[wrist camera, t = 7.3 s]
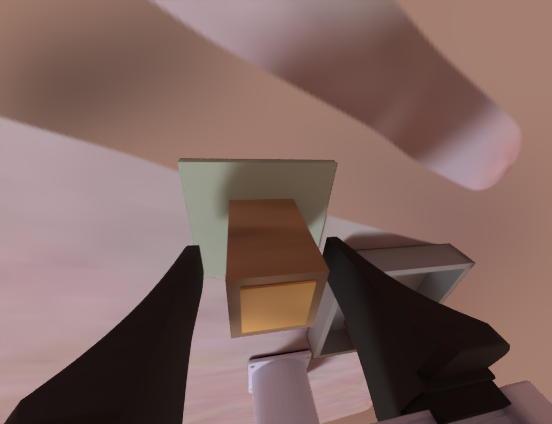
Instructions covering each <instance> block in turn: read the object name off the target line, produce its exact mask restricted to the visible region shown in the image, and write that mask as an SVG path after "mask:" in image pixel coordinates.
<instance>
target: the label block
mask: <svg viewBox="0 0 552 424" xmlns="http://www.w3.org/2000/svg"><path fill="white" fill-rule="evenodd" d="M329 271H330V270H329V268H328V266H327V264H326V262H325V260H324V258H323V256H322V254H321V252H320V251H319V249H318V247H317V245H316V243H315V241H314V239H313V237H312V235H311V233H310V231H309V229H308V227H307V225H306V223H305V221H304V219H303V217H302V215H301V213H300V211H299V209H298V207H297V205H296V203H295V201H294V199H259V200H229V218H228V238H227V259H226V279H225V281H226V291H227V301H228V311H229V321H230V331H231V338H236V337H244V336H251V335H258V334H265V333H272V332H279V331H286V330H293V329H300V328H307V327H313V326H314V323H315V319H316V316H317V312H318V309H319V306H320V302H321V299H322V295H323V292H324V288H325V285H326V282H327V278H328V275H329Z"/></svg>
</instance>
